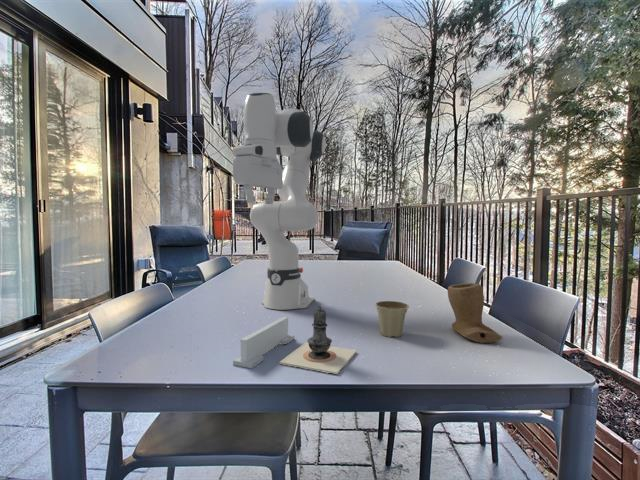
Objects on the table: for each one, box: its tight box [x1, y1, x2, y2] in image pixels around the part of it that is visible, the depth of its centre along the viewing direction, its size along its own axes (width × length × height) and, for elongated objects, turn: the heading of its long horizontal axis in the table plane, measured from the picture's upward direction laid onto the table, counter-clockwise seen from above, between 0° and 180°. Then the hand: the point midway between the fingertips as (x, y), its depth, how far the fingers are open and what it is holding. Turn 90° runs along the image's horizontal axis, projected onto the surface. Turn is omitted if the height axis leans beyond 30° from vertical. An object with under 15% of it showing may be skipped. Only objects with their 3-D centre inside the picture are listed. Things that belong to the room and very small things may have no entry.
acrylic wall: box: [232, 316, 295, 370], centre depth 91 cm, size 21×5×6 cm, turn 157°
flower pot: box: [375, 300, 410, 338], centre depth 105 cm, size 9×9×9 cm
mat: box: [279, 341, 357, 375], centre depth 87 cm, size 14×14×1 cm
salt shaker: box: [306, 305, 333, 360], centre depth 86 cm, size 6×6×12 cm
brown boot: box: [447, 282, 503, 344], centre depth 104 cm, size 15×12×15 cm
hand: (260, 203), depth 101 cm, fingers open, 8 cm apart
